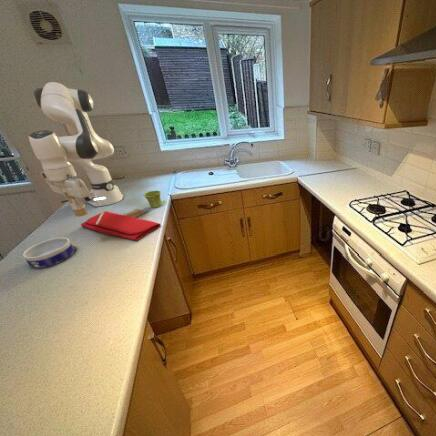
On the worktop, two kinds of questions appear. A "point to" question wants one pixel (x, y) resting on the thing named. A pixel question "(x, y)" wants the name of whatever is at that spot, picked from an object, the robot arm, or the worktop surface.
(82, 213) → the sprinkles bottle
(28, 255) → the dog bowl
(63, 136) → the robot arm
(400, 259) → the worktop surface
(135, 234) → the dish drying mat
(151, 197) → the plant pot
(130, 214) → the coaster
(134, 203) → the worktop surface
